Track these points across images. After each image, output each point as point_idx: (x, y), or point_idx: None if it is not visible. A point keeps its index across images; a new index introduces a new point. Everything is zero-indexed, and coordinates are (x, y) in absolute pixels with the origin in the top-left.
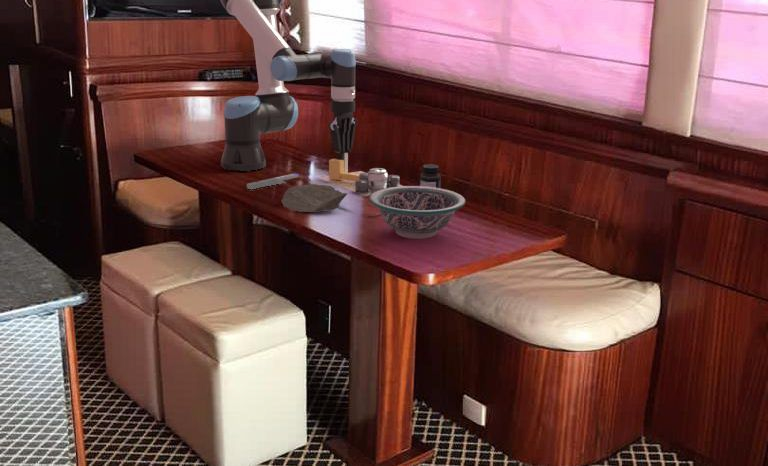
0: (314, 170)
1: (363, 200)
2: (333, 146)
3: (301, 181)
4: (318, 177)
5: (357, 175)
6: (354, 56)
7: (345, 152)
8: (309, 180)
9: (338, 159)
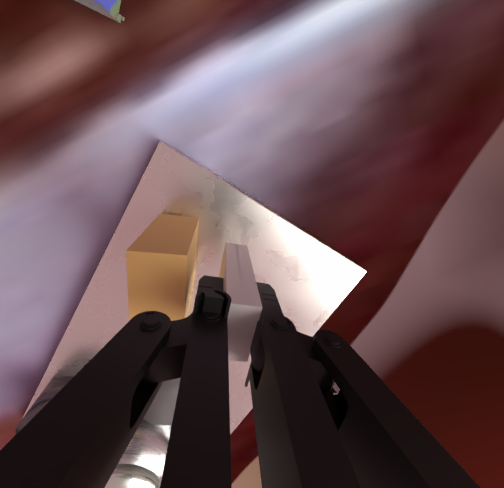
0: (367, 13)
1: (10, 416)
2: (99, 358)
3: (92, 55)
4: (163, 144)
5: None
6: None
7: (249, 345)
8: (141, 94)
9: (182, 298)
